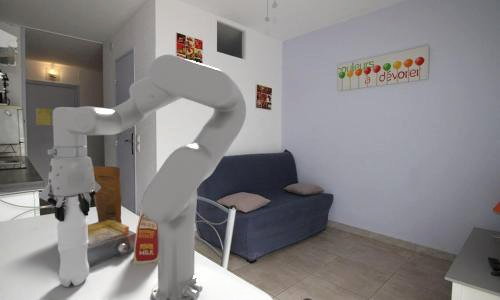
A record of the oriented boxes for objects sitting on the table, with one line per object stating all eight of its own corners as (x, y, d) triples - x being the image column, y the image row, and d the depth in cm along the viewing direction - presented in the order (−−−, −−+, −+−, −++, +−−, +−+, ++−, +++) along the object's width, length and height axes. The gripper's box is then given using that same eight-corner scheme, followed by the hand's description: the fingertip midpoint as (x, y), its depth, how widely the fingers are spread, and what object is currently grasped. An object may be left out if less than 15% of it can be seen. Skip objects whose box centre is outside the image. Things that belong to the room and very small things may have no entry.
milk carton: (133, 264, 85) (132, 203, 84) (137, 251, 94) (137, 196, 93) (163, 261, 88) (162, 202, 86) (164, 249, 97) (164, 195, 95)
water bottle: (78, 290, 71) (75, 199, 69) (52, 289, 72) (49, 198, 70) (94, 275, 79) (92, 192, 77) (71, 274, 79) (68, 192, 77)
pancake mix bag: (114, 236, 107) (113, 168, 105) (86, 227, 116) (84, 164, 114) (129, 230, 113) (128, 166, 111) (101, 222, 122) (99, 162, 120)
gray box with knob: (140, 251, 94) (140, 228, 94) (84, 273, 79) (84, 246, 79) (115, 238, 105) (114, 217, 104) (61, 255, 90) (60, 231, 89)
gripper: (37, 156, 63) (39, 229, 65) (109, 152, 77) (110, 212, 78) (27, 153, 68) (29, 222, 69) (97, 150, 81) (98, 208, 83)
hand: (72, 216), depth 74 cm, fingers closed on water bottle, 5 cm apart
